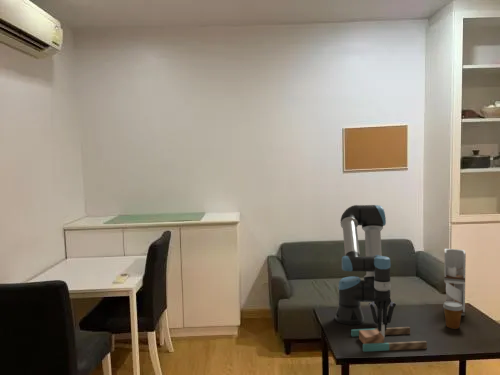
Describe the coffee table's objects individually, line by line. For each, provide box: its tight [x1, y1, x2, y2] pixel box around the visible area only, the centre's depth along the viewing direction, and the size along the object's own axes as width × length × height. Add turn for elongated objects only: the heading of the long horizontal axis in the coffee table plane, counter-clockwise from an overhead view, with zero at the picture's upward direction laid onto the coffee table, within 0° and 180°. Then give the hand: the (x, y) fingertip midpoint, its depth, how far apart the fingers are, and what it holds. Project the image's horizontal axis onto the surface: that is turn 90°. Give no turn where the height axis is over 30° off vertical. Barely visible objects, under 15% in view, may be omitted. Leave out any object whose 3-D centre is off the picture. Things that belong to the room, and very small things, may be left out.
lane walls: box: [374, 326, 428, 351], centre depth 214 cm, size 18×19×3 cm
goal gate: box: [350, 327, 390, 353], centre depth 213 cm, size 12×19×3 cm, turn 5°
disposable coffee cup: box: [442, 301, 463, 330], centre depth 231 cm, size 10×10×12 cm
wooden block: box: [358, 330, 385, 345], centre depth 213 cm, size 9×9×4 cm
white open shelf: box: [443, 248, 467, 316], centre depth 253 cm, size 11×11×35 cm
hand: (382, 337), depth 213 cm, fingers closed
